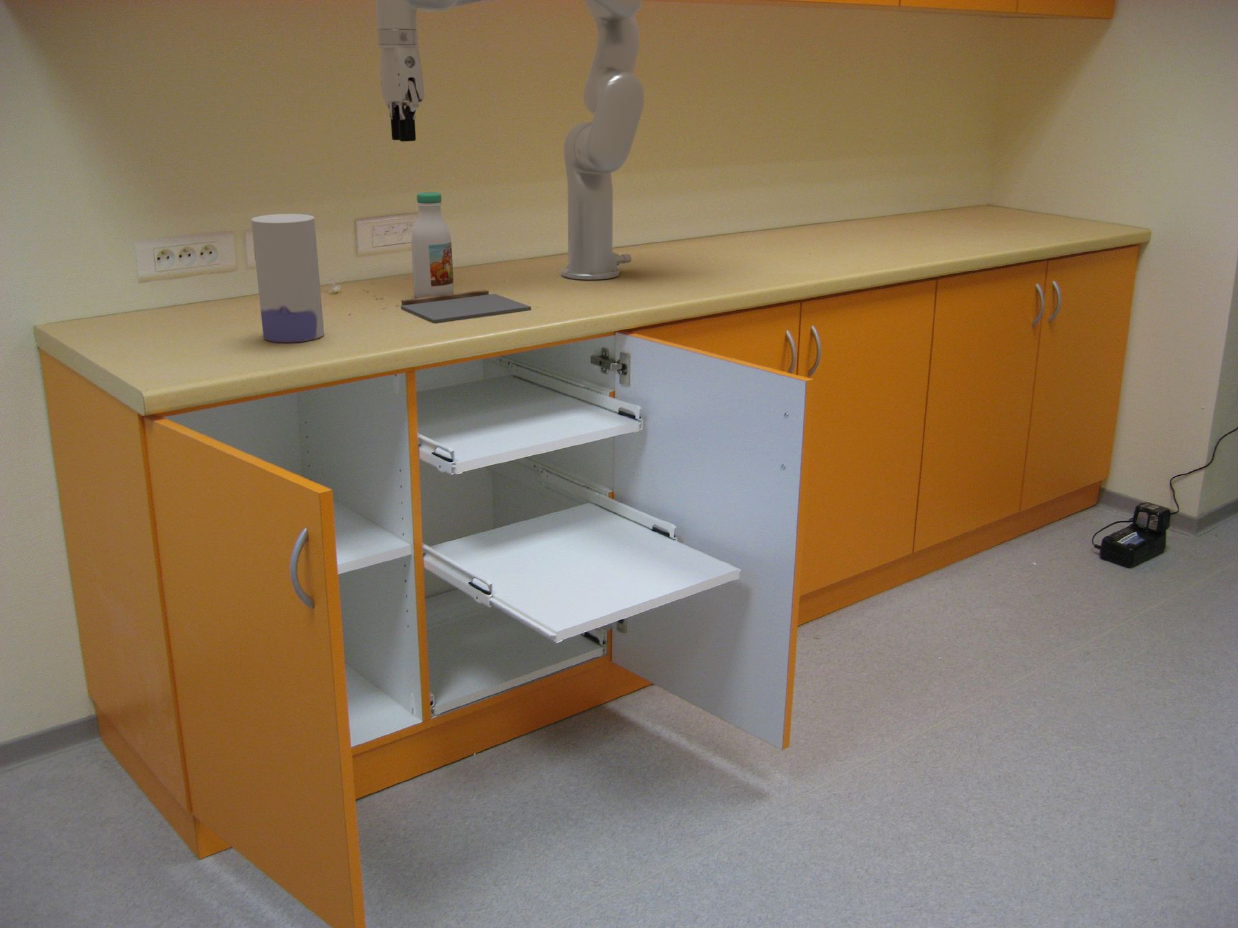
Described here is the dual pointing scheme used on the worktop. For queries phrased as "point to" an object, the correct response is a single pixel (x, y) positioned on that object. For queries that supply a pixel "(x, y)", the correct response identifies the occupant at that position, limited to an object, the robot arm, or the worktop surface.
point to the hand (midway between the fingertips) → (403, 139)
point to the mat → (465, 308)
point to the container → (288, 277)
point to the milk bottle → (431, 249)
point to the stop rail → (444, 297)
